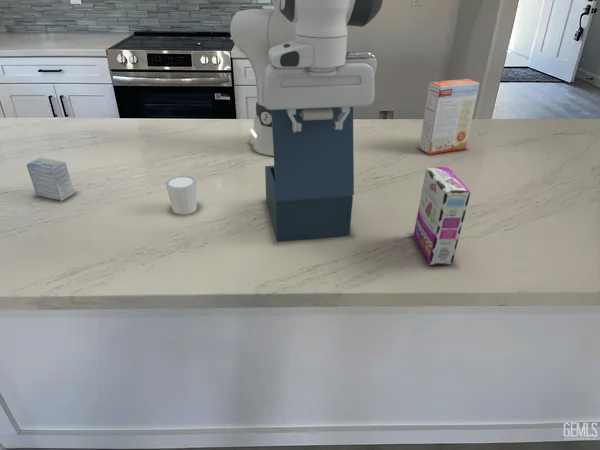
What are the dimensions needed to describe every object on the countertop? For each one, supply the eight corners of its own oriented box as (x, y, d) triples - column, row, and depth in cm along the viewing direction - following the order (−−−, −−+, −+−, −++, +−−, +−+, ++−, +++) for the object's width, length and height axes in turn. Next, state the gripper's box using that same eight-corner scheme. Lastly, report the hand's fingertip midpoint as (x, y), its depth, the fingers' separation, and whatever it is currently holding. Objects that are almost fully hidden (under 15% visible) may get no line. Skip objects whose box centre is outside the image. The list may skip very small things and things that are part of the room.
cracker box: (454, 143, 144) (467, 77, 133) (466, 149, 140) (481, 82, 129) (417, 148, 140) (428, 80, 129) (428, 155, 135) (441, 85, 124)
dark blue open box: (266, 201, 108) (265, 166, 103) (329, 197, 111) (331, 162, 106) (276, 242, 93) (276, 202, 88) (349, 235, 96) (353, 196, 91)
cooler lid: (270, 103, 84) (274, 102, 79) (351, 100, 86) (360, 99, 81) (276, 200, 88) (279, 205, 83) (352, 194, 91) (360, 199, 86)
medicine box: (75, 193, 110) (66, 161, 105) (61, 201, 106) (51, 168, 102) (50, 188, 112) (40, 156, 107) (36, 196, 108) (25, 163, 104)
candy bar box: (453, 265, 87) (472, 191, 79) (429, 266, 87) (445, 192, 78) (434, 234, 97) (449, 165, 88) (412, 235, 96) (425, 166, 88)
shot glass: (192, 217, 101) (189, 190, 97) (164, 213, 102) (160, 186, 99) (203, 203, 107) (201, 177, 103) (177, 200, 108) (173, 174, 104)
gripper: (372, 48, 80) (365, 122, 87) (259, 49, 76) (261, 127, 84) (384, 54, 75) (375, 133, 82) (264, 57, 71) (266, 139, 78)
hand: (317, 130), depth 83 cm, fingers open, 6 cm apart
